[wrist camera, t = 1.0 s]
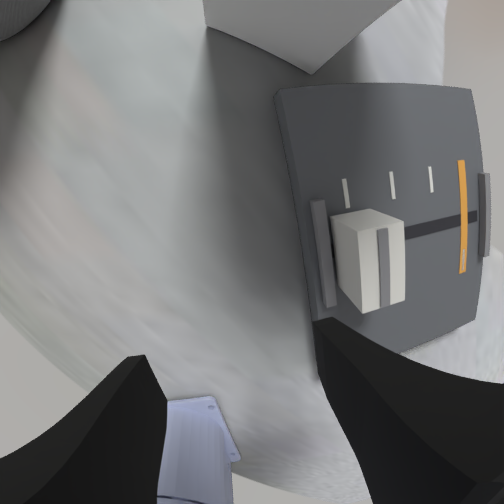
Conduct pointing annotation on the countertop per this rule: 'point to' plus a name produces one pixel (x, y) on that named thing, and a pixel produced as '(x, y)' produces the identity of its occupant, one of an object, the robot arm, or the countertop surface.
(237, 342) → the countertop surface
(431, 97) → the console board
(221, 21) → the milk carton
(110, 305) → the countertop surface
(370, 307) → the fader knob
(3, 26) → the smart speaker
